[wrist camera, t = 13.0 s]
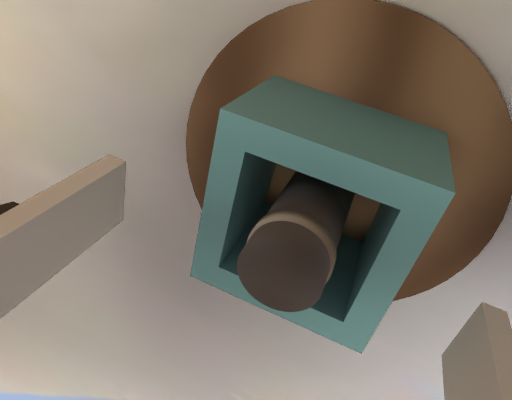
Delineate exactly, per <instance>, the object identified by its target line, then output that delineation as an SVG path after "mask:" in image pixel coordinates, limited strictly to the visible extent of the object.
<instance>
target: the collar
mask: <svg viewBox="0 0 512 400" xmlns="http://www.w3.org/2000/svg"><path fill="white" fill-rule="evenodd" d="M276 163H277V164H280V165H282V166H285V167H288V168H290V169H293V170H296V171H298V172H301V173H303V174H306V175H309V176H311V177H314V178H317V179H319V180H322V181H325V182H327V183H330V184H333V185H335V186H338V187H341V188H343V189H346V190H349V191H351V192H354V193H357V194H359V195H362V196H365V197H367V198H370V199H373V200H375V201H378V202H380V203H381V204H380V206H379V209H378V211H377V213H376V215H375V217H374V219H373V221H372V223H371V226H370V228H369V230H368V232H367V234H366V236H365V238H364V240H363V242H361V241H358V240H356V239H353V238H351V237H348V236H346V235H343V234H341V238H340V241H339V244H338V247H337V250H336V262H335V265H334V268H333V271H332V274H331V277H330V278H329V280H328V281H327V283H326V284H325V286H324V289H323V292H322V295H321V297H320V299H319V300H318V301H317V302H316V303H315V304H314V305H313V306H312V307H310V308H308V309H306V310H303V311H298V312H283V311H278V310H275V309H272V308H269V307H267V306H265V305H263V304H262V303H260V302H258V301H257V300H256V299H254V298H253V297H252V296H251V295H250V294H249V293H248V292H247V290H246V289H245V288H244V286H243V285H242V283H241V281H240V279H239V276H238V272H237V260H238V257H239V254H240V252H241V251H242V249H243V248H244V246H245V245H246V243H247V239H248V236H249V234H250V233H251V231H252V230H253V228H254V227H255V225H256V224H257V223H258V221H259V220H260V219H261V218H262V217H264V216H265V215H266V214H267V213H268V211H269V210H270V208H271V207H272V206H270V205H268V204H265V201H266V197H267V194H268V190H269V187H270V183H271V179H272V176H273V172H274V169H275V165H276ZM455 193H456V192H455V185H454V178H453V172H452V165H451V158H450V152H449V145H448V138H447V132H444V131H441V130H438V129H435V128H432V127H429V126H426V125H423V124H420V123H417V122H414V121H411V120H408V119H405V118H402V117H399V116H396V115H393V114H390V113H387V112H384V111H381V110H378V109H375V108H372V107H369V106H366V105H363V104H360V103H357V102H354V101H351V100H348V99H345V98H342V97H339V96H336V95H333V94H330V93H327V92H324V91H321V90H318V89H315V88H312V87H309V86H306V85H303V84H300V83H297V82H294V81H291V80H288V79H285V78H281V77H278V76H275V75H274V76H272V77H271V78H269V79H268V80H266V81H264V82H263V83H261V84H259V85H258V86H256V87H254V88H253V89H251V90H250V91H248V92H246V93H245V94H243V95H241V96H240V97H238V98H237V99H235V100H233V101H232V102H230V103H228V104H227V105H225V106H223V107H222V108H220V112H219V118H218V124H217V129H216V135H215V140H214V146H213V151H212V157H211V163H210V168H209V174H208V179H207V185H206V190H205V196H204V202H203V207H202V213H201V218H200V224H199V230H198V235H197V241H196V246H195V252H194V257H193V263H192V269H191V274H190V276H192V277H194V278H196V279H198V280H200V281H203V282H205V283H207V284H209V285H211V286H214V287H216V288H218V289H220V290H222V291H225V292H227V293H229V294H231V295H233V296H236V297H238V298H240V299H242V300H244V301H247V302H249V303H251V304H253V305H255V306H258V307H260V308H262V309H264V310H267V311H269V312H271V313H273V314H275V315H278V316H280V317H282V318H284V319H286V320H289V321H291V322H293V323H295V324H297V325H300V326H302V327H304V328H306V329H308V330H311V331H313V332H315V333H317V334H319V335H322V336H324V337H326V338H328V339H330V340H333V341H335V342H337V343H339V344H341V345H344V346H346V347H348V348H350V349H352V350H355V351H357V352H359V353H361V354H362V352H363V350H364V349H365V347H366V345H367V343H368V342H369V340H370V338H371V337H372V335H373V333H374V332H375V330H376V328H377V326H378V325H379V323H380V321H381V320H382V318H383V316H384V314H385V313H386V311H387V309H388V308H389V306H390V304H391V303H392V301H393V299H394V297H395V296H396V294H397V292H398V291H399V289H400V287H401V285H402V284H403V282H404V280H405V279H406V277H407V275H408V274H409V272H410V270H411V268H412V267H413V265H414V263H415V262H416V260H417V258H418V256H419V255H420V253H421V251H422V250H423V248H424V246H425V245H426V243H427V241H428V239H429V238H430V236H431V234H432V233H433V231H434V229H435V227H436V226H437V224H438V222H439V221H440V219H441V217H442V216H443V214H444V212H445V210H446V209H447V207H448V205H449V204H450V202H451V200H452V199H453V197H454V195H455Z"/></svg>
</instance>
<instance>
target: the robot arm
mask: <svg viewBox="0 0 512 400" xmlns="http://www.w3.org/2000/svg"><path fill="white" fill-rule="evenodd" d="M125 173H126V161H123V160H121V159H118V158H116V157H113V156H110V155H107V156H106V157H104V158H102V159H100V160H98V161H97V162H95V163H93V164H91V165H89V166H88V167H86V168H84V169H82V170H80V171H79V172H77V173H75V174H73V175H71V176H70V177H68V178H66V179H64V180H62V181H61V182H59V183H57V184H55V185H53V186H52V187H50V188H48V189H46V190H44V191H43V192H41V193H39V194H37V195H35V196H34V197H32V198H30V199H28V200H26V201H25V202H23V203H21V204H18V203H16V202H10V203H6V204H2V205H0V319H1V318H2V317H3V316H5V315H6V314H7V313H8V312H9V311H11V310H12V309H13V308H14V307H16V306H17V305H18V304H19V303H21V302H22V301H23V300H24V299H26V298H27V297H28V296H29V295H31V294H32V293H33V292H34V291H36V290H37V289H38V288H39V287H41V286H42V285H43V284H44V283H45V282H47V281H48V280H49V279H50V278H52V277H53V276H54V275H55V274H57V273H58V272H59V271H60V270H62V269H63V268H64V267H65V266H67V265H68V264H69V263H70V262H72V261H73V260H74V259H75V258H76V257H78V256H79V255H80V254H81V253H83V252H84V251H85V250H86V249H88V248H89V247H90V246H91V245H93V244H94V243H95V242H96V241H98V240H99V239H100V238H101V237H103V236H104V235H105V234H106V233H108V232H109V231H110V230H111V229H112V228H114V227H115V226H116V225H117V224H119V223H120V222H121V221H122V220H123V213H124V193H125ZM442 367H443V381H444V396H445V400H512V329H511V325H510V322H509V318H508V314H507V312H506V311H504V310H501V309H498V308H496V307H493V306H491V305H488V304H486V303H483V302H482V303H481V304H480V305H479V307H478V308H477V309H476V311H475V312H474V313H473V315H472V316H471V317H470V319H469V320H468V321H467V322H466V324H465V325H464V326H463V328H462V329H461V330H460V332H459V333H458V334H457V336H456V337H455V338H454V340H453V341H452V342H451V344H450V345H449V346H448V348H447V349H446V350H445V352H444V353H443V354H442Z"/></svg>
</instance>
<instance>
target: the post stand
mask: <svg viewBox="0 0 512 400" xmlns="http://www.w3.org/2000/svg"><path fill="white" fill-rule="evenodd" d="M274 75H275V76H278V77H281V78H285V79H288V80H291V81H294V82H297V83H300V84H303V85H306V86H309V87H312V88H315V89H318V90H321V91H324V92H327V93H330V94H333V95H336V96H339V97H342V98H345V99H348V100H351V101H354V102H357V103H360V104H363V105H366V106H369V107H372V108H375V109H378V110H381V111H384V112H387V113H390V114H393V115H396V116H399V117H402V118H405V119H408V120H411V121H414V122H417V123H420V124H423V125H426V126H429V127H432V128H435V129H438V130H441V131H444V132H447V138H448V145H449V152H450V158H451V165H452V172H453V178H454V185H455V192H456V193H455V195H454V197H453V199H452V200H451V202H450V204H449V205H448V207H447V209H446V210H445V212H444V214H443V216H442V217H441V219H440V221H439V222H438V224H437V226H436V227H435V229H434V231H433V233H432V234H431V236H430V238H429V239H428V241H427V243H426V245H425V246H424V248H423V250H422V251H421V253H420V255H419V256H418V258H417V260H416V262H415V263H414V265H413V267H412V268H411V270H410V272H409V274H408V275H407V277H406V279H405V280H404V282H403V284H402V285H401V287H400V289H399V291H398V292H397V294H396V296H395V297H394V299H393V301H395V300H399V299H402V298H406V297H410V296H413V295H416V294H419V293H421V292H424V291H426V290H429V289H431V288H433V287H435V286H437V285H439V284H441V283H442V282H444V281H446V280H448V279H449V278H451V277H452V276H454V275H455V274H456V273H458V272H459V271H461V270H462V269H463V268H465V267H466V266H467V265H468V264H469V263H470V262H471V261H472V260H473V259H474V258H475V257H476V256H477V255H479V253H480V252H481V251H482V250H483V248H484V247H485V246H486V245H487V243H488V242H489V241H490V240H491V239H492V237H493V235H494V233H495V232H496V230H497V228H498V227H499V225H500V223H501V222H502V220H503V217H504V215H505V212H506V210H507V207H508V205H509V202H510V200H511V195H512V123H511V119H510V116H509V112H508V109H507V106H506V104H505V102H504V100H503V98H502V95H501V93H500V91H499V89H498V87H497V85H496V83H495V82H494V80H493V79H492V77H491V76H490V75H489V73H488V72H487V70H486V69H485V67H484V66H483V65H482V63H481V62H480V60H479V59H478V58H477V57H476V56H475V55H474V54H473V53H472V52H471V51H470V50H469V49H468V48H467V47H466V45H465V44H464V43H463V42H462V41H461V40H459V39H458V38H457V37H455V36H454V35H453V34H451V33H450V32H449V31H447V30H446V29H445V28H443V27H442V26H441V25H439V24H437V23H435V22H434V21H432V20H430V19H428V18H426V17H424V16H422V15H421V14H419V13H417V12H414V11H411V10H408V9H406V8H403V7H400V6H397V5H394V4H391V3H386V2H381V1H376V0H314V1H310V2H306V3H302V4H298V5H294V6H290V7H287V8H285V9H282V10H280V11H277V12H275V13H272V14H270V15H268V16H266V17H264V18H263V19H261V20H259V21H257V22H256V23H254V24H252V25H251V26H249V27H248V28H246V29H245V30H244V31H243V32H241V33H240V34H239V35H238V36H236V37H235V38H234V39H233V40H231V41H230V42H229V44H228V45H227V46H226V47H225V48H224V49H223V50H222V51H221V52H220V53H219V54H218V55H217V57H216V58H215V60H214V61H213V62H212V64H211V65H210V67H209V68H208V70H207V71H206V73H205V75H204V76H203V78H202V80H201V82H200V84H199V86H198V88H197V91H196V94H195V97H194V99H193V102H192V105H191V109H190V114H189V119H188V124H187V136H186V150H187V163H188V168H189V174H190V179H191V182H192V185H193V188H194V192H195V195H196V197H197V199H198V202H199V204H200V206H201V209H202V207H203V202H204V196H205V190H206V185H207V179H208V174H209V168H210V163H211V157H212V151H213V146H214V140H215V135H216V129H217V124H218V118H219V112H220V108H222V107H223V106H225V105H227V104H228V103H230V102H232V101H233V100H235V99H237V98H238V97H240V96H241V95H243V94H245V93H246V92H248V91H250V90H251V89H253V88H254V87H256V86H258V85H259V84H261V83H263V82H264V81H266V80H268V79H269V78H271V77H272V76H274ZM265 204H268V205H270V206H272V207H271V208H270V210H269V211H268V213H267V214H266V215H265V216H264V217H262V218H261V219H260V220H259V221H258V223H257V224H256V225H255V227H254V228H253V230H252V231H251V233H250V234H249V236H248V239H247V243H246V245H245V246H244V248H243V249H242V251H241V252H240V254H239V257H238V260H237V272H238V276H239V279H240V281H241V283H242V285H243V286H244V288H245V289H246V290H247V292H248V293H249V294H250V295H251V296H252V297H253V298H254V299H256V300H257V301H258V302H260V303H262V304H263V305H265V306H267V307H269V308H272V309H275V310H278V311H283V312H298V311H303V310H306V309H308V308H310V307H312V306H313V305H314V304H315V303H316V302H317V301H318V300H319V299H320V297H321V295H322V292H323V289H324V286H325V284H326V283H327V281H328V280H329V278H330V277H331V274H332V271H333V268H334V265H335V262H336V250H337V247H338V244H339V241H340V238H341V234H343V235H346V236H348V237H351V238H353V239H356V240H358V241H361V242H363V240H364V238H365V236H366V234H367V232H368V230H369V228H370V226H371V223H372V221H373V219H374V217H375V215H376V213H377V211H378V209H379V206H380V204H381V203H380V202H378V201H375V200H373V199H370V198H367V197H365V196H362V195H359V194H357V193H354V192H351V191H349V190H346V189H343V188H341V187H338V186H335V185H333V184H330V183H327V182H325V181H322V180H319V179H317V178H314V177H311V176H309V175H306V174H303V173H301V172H298V171H296V170H293V169H290V168H288V167H285V166H282V165H280V164H277V163H276V165H275V169H274V172H273V176H272V179H271V183H270V187H269V190H268V194H267V197H266V201H265Z"/></svg>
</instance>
